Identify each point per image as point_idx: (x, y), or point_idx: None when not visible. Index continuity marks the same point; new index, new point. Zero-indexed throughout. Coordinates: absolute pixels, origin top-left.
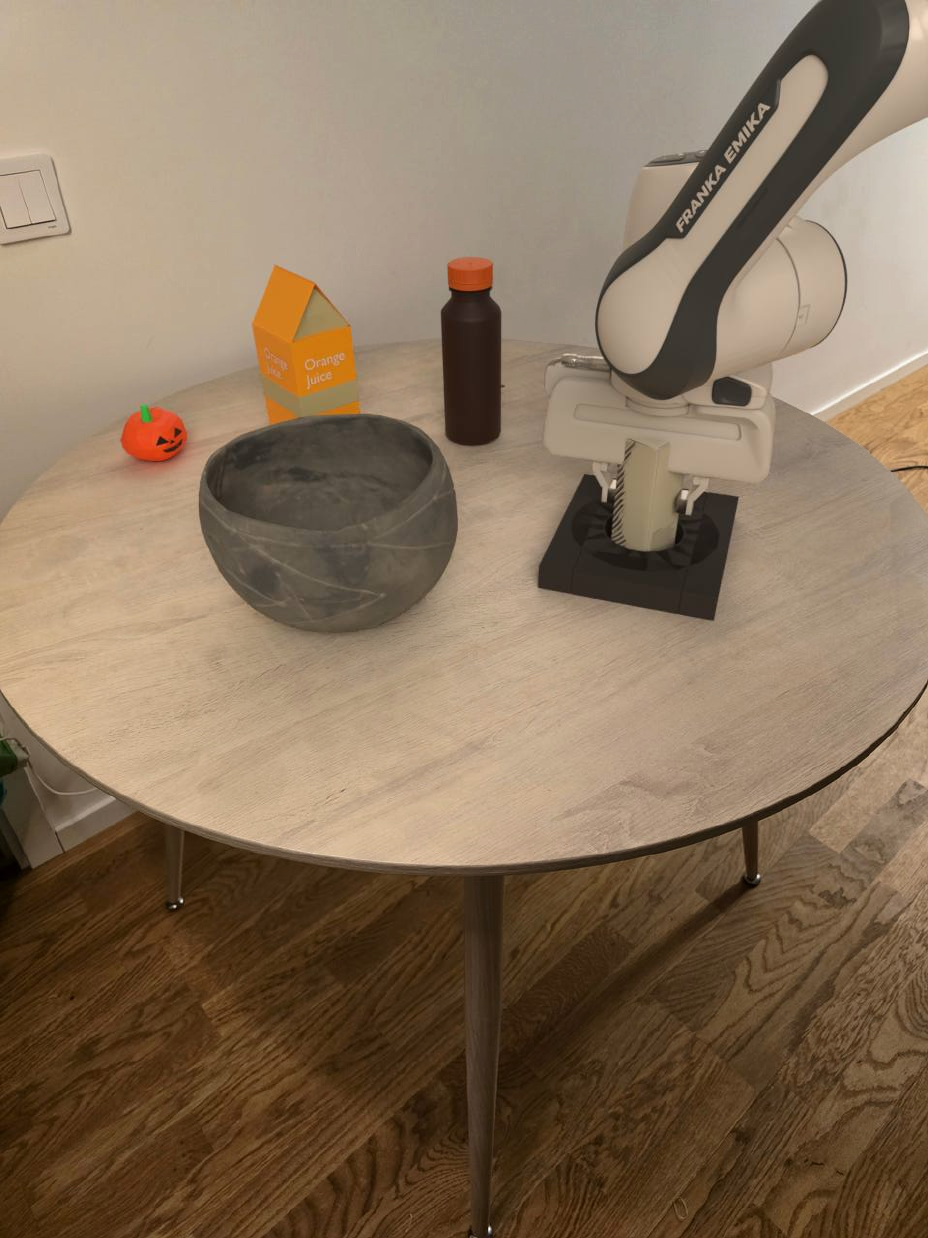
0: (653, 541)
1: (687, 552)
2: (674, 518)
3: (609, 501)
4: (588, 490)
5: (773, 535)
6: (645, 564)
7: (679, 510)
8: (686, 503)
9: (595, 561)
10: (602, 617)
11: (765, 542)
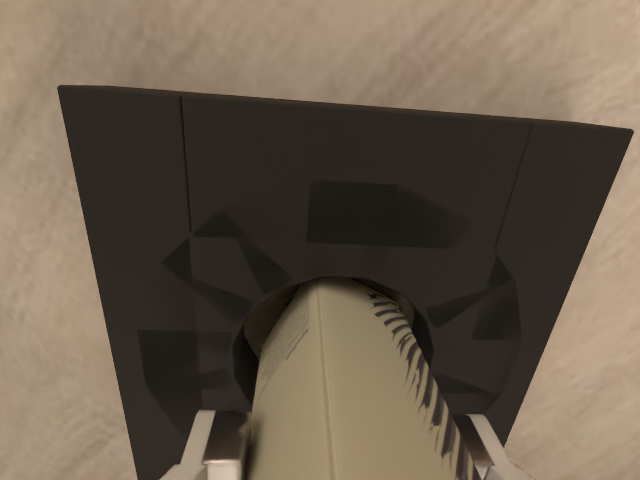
0: (303, 317)
1: (207, 297)
2: (258, 404)
3: (461, 417)
4: None
5: (76, 427)
6: (312, 216)
7: (234, 420)
8: (207, 449)
9: (459, 195)
10: (402, 26)
11: (83, 404)
